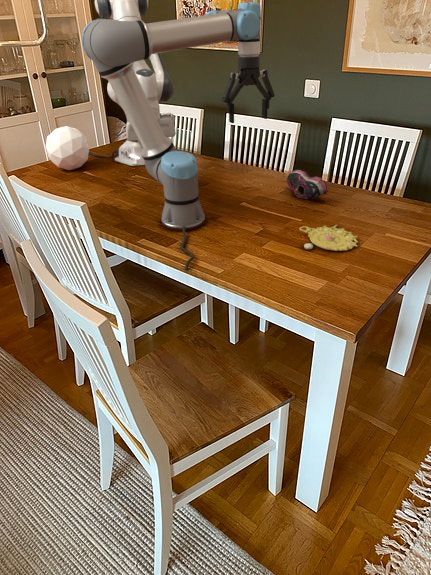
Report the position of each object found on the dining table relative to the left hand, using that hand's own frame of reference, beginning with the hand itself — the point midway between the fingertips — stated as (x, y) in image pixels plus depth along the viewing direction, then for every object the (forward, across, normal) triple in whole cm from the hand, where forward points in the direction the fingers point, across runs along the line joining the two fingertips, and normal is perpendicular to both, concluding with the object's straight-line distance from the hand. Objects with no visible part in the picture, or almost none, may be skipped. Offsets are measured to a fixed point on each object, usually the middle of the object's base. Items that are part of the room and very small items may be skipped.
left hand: (152, 149), depth 186 cm
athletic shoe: (+14, -52, +37) cm, 65 cm away
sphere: (+14, +36, -32) cm, 50 cm away
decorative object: (+13, -44, +74) cm, 88 cm away
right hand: (-14, -33, +26) cm, 45 cm away
